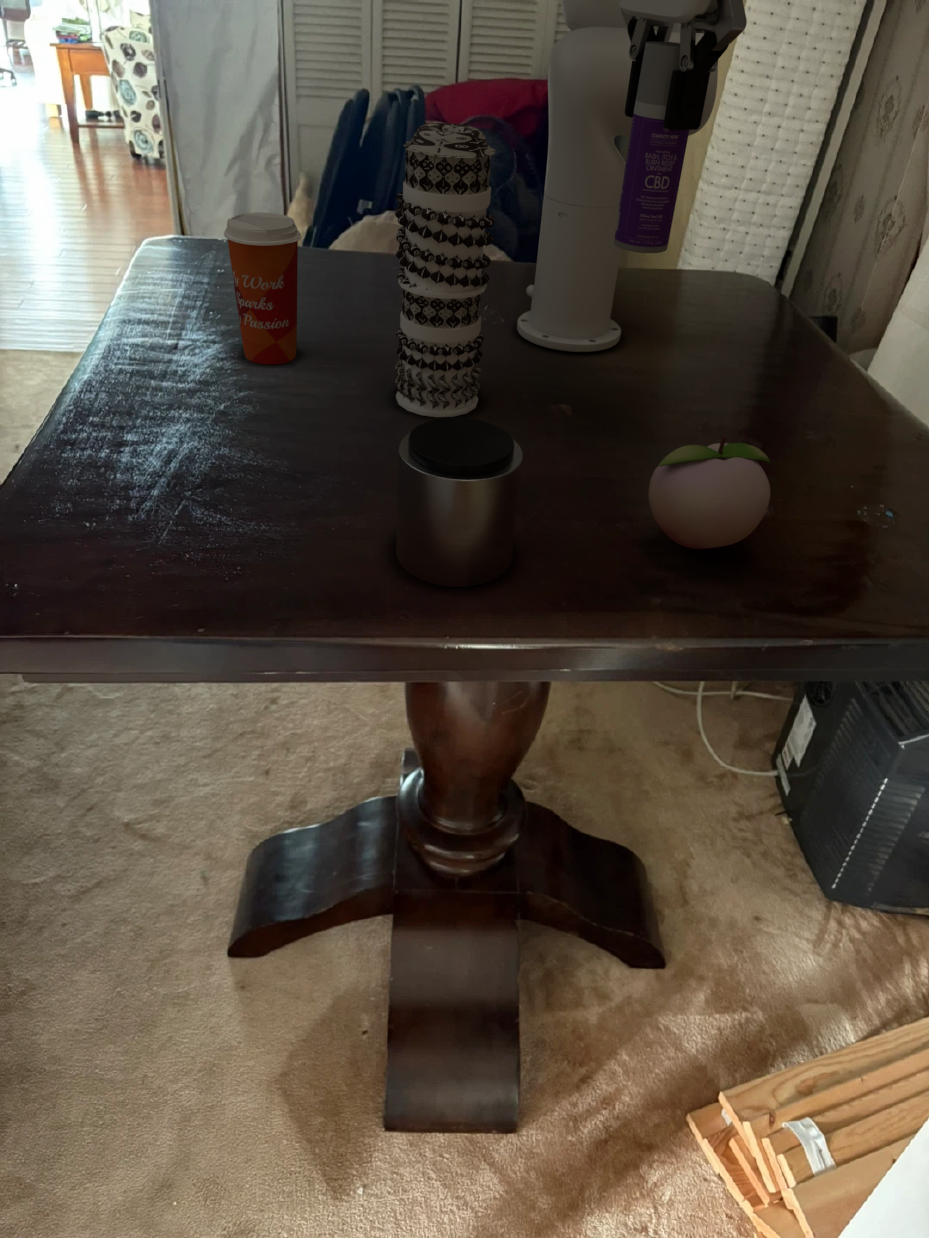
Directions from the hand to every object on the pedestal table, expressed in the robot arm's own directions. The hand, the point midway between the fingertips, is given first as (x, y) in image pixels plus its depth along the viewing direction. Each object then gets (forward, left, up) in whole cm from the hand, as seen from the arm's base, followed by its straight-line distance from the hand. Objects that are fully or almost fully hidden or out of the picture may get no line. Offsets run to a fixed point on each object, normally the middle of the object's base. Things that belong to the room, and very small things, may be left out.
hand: (661, 120), depth 74 cm
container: (0, 0, -10) cm, 10 cm away
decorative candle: (-12, -13, -28) cm, 33 cm away
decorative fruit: (+21, -4, -28) cm, 35 cm away
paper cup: (-28, -26, -28) cm, 47 cm away
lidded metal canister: (+15, -23, -27) cm, 39 cm away
